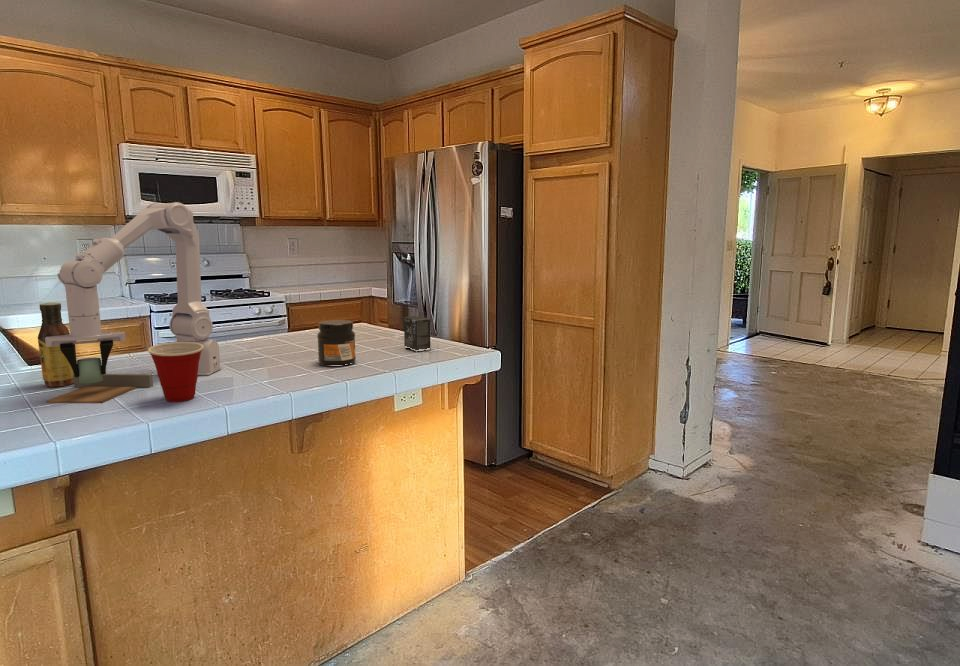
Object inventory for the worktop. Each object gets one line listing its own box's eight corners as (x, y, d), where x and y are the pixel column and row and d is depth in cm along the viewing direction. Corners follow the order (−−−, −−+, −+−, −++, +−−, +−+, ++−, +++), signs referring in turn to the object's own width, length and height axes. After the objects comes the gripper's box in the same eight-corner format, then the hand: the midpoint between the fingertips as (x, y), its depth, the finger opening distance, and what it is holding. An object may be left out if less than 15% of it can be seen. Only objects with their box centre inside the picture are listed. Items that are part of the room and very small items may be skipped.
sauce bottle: (48, 382, 138) (39, 302, 134) (79, 380, 140) (70, 301, 137) (39, 389, 132) (29, 305, 128) (71, 387, 134) (61, 304, 131)
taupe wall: (153, 386, 135) (152, 374, 135) (150, 387, 134) (149, 375, 134) (77, 385, 135) (76, 373, 135) (74, 387, 134) (72, 374, 133)
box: (403, 348, 184) (403, 316, 183) (419, 346, 188) (418, 315, 186) (415, 352, 178) (415, 319, 176) (431, 350, 181) (430, 318, 179)
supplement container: (351, 367, 156) (349, 325, 155) (313, 367, 157) (311, 324, 155) (359, 359, 167) (358, 319, 165) (324, 359, 167) (323, 319, 165)
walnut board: (135, 388, 133) (135, 386, 133) (102, 402, 121) (102, 401, 121) (84, 388, 133) (84, 386, 133) (46, 402, 121) (46, 400, 121)
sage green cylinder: (104, 378, 130) (102, 356, 129) (100, 382, 126) (98, 360, 125) (82, 379, 128) (79, 358, 127) (77, 384, 124) (74, 362, 123)
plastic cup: (157, 409, 117) (152, 352, 115) (148, 397, 126) (143, 345, 124) (213, 400, 124) (209, 346, 122) (200, 389, 132) (196, 339, 131)
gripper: (122, 311, 131) (128, 367, 134) (45, 315, 124) (52, 375, 126) (123, 314, 125) (128, 373, 128) (41, 319, 118) (48, 381, 120)
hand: (90, 375), depth 126 cm, fingers closed on sage green cylinder, 4 cm apart
